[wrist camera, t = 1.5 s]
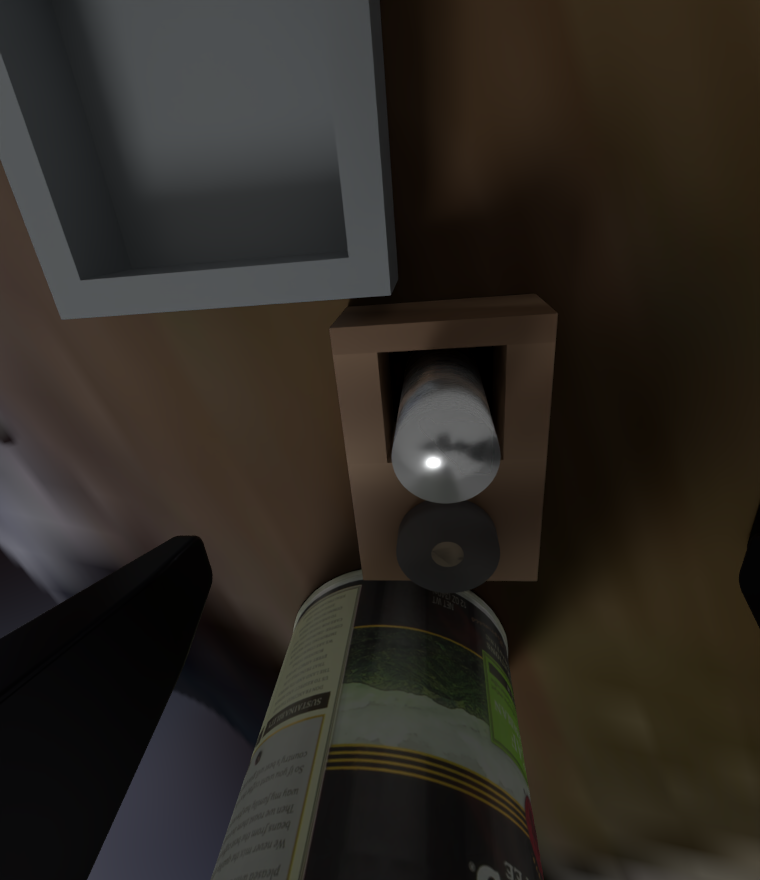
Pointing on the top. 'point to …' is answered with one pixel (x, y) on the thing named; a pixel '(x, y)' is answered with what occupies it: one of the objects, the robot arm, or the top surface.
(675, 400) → the top surface
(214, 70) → the pin tray
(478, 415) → the pin
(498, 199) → the top surface
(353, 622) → the coffee can
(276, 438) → the top surface
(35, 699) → the robot arm
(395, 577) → the block
